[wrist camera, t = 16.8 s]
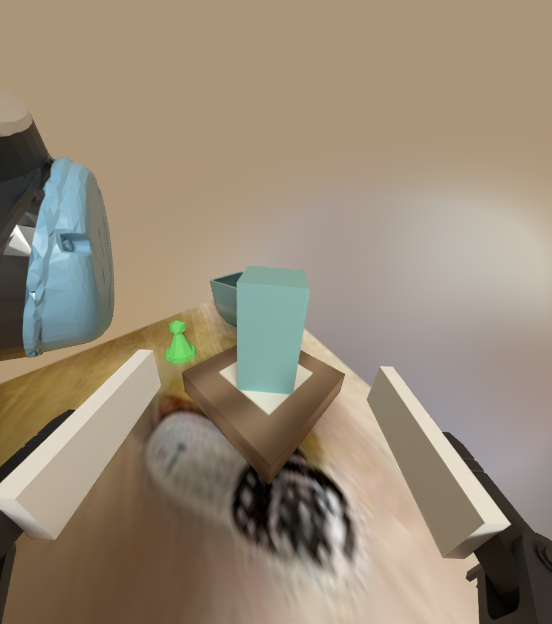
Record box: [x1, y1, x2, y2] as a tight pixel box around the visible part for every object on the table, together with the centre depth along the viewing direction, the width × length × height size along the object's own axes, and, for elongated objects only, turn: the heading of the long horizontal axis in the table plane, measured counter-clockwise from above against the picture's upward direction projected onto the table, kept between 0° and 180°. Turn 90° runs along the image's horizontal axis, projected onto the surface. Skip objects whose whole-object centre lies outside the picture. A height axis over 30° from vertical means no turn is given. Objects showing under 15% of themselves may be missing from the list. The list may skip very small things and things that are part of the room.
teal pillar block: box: [237, 266, 310, 394], centre depth 22 cm, size 6×6×12 cm
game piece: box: [165, 321, 195, 364], centre depth 29 cm, size 4×4×6 cm
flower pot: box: [210, 272, 243, 326], centre depth 40 cm, size 9×9×9 cm
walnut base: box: [182, 345, 345, 485], centre depth 25 cm, size 14×14×3 cm
